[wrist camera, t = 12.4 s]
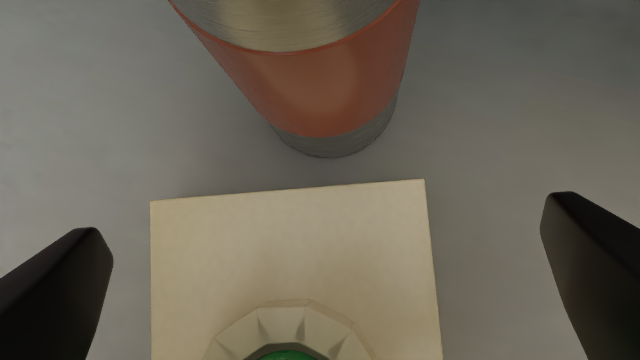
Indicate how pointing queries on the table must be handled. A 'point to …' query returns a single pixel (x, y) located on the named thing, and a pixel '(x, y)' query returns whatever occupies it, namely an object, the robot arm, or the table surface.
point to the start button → (286, 355)
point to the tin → (311, 63)
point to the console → (295, 274)
